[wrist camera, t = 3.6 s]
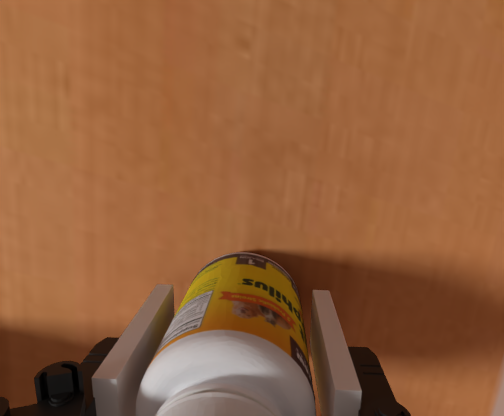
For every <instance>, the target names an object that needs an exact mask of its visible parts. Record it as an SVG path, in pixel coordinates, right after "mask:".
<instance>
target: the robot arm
mask: <svg viewBox="0 0 504 416" xmlns="http://www.w3.org/2000/svg"><path fill="white" fill-rule="evenodd" d="M173 318H174V292H173V285H162V284H157V285H156V287H155V288H154V290H153V291H152V292H151V294H150V295H149V297H148V298H147V300H146V301H145V302H144V304H143V305H142V307H141V308H140V310H139V311H138V312H137V314H136V315H135V317H134V318H133V320H132V321H131V322H130V324H129V325H128V327H127V328H126V329H125V331H124V332H123V334H122V335H121V337H120V338H109V337H107V338H105V339H104V340H102V341H101V342H99V343H98V344H96V345H95V346H94V348H93V349H92V350H91V351H90V353H89V355H87V357H86V358H85V359H84V360H83V362H82V363H81V364H79V363H77V362H73V361H62V362H58V363H54V364H52V365H49V366H47V367H45V368H44V369H42V370H41V371H40V372H38V374H37V375H36V376H35V378H34V381H35V388H36V395H37V404H33V405H29V406H24V407H18V408H13V409H10V408H9V402H8V400H7V399H5V398H4V397H0V416H136V400H137V395H138V391H139V387H140V384H141V382H142V379H143V377H144V375H145V373H146V371H147V368H148V366H149V364H150V363H151V361H152V359H153V357H154V355H155V353H156V351H157V349H158V347H159V345H160V343H161V341H162V339H163V338H164V336H165V334H166V332H167V330H168V328H169V326H170V324H171V322H172V320H173ZM310 347H311V354H312V360H313V366H314V372H315V378H316V385H317V391H318V397H319V403H320V409H321V416H411V415H410V413H409V412H408V411H407V409H406V408H405V407H403V406H402V405H400V404H399V403H397V402H396V399H395V397H394V395H393V392H392V390H391V388H390V386H389V383H388V381H387V379H386V376H385V375H384V372H383V369H382V367H381V365H380V363H379V360H378V358H377V356H376V355H375V354H374V353H373V352H372V351H371V350H370V349H369V348H367V347H347V344H346V341H345V337H344V334H343V331H342V328H341V325H340V322H339V319H338V316H337V313H336V310H335V307H334V303H333V300H332V297H331V294H330V291H329V290H313V291H312V310H311V329H310Z"/></svg>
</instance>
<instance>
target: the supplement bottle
mask: <svg viewBox="0 0 504 416" xmlns="http://www.w3.org/2000/svg"><path fill="white" fill-rule="evenodd" d="M136 416H316V409H315V396H314V391H313V385H312V377H311V372H310V365H309V357H308V350H307V343H306V335H305V328H304V321H303V314H302V308H301V302H300V297H299V293H298V290H297V287H296V285H295V283H294V281H293V280H292V278H291V277H290V275H289V274H288V273H287V272H286V271H285V270H284V269H283V268H282V267H281V266H280V265H279V264H277V263H276V262H274V261H273V260H271V259H269V258H267V257H264V256H261V255H258V254H254V253H247V252H237V253H231V254H226V255H223V256H221V257H218V258H216V259H214V260H213V261H211V262H210V263H208V264H207V265H206V266H204V267H203V268H202V269H201V270H200V272H199V273H198V274H197V275H196V277H195V278H194V280H193V282H192V283H191V285H190V287H189V289H188V291H187V293H186V295H185V297H184V299H183V301H182V303H181V304H180V307H179V308H178V310H177V312H176V314H175V316H174V318H173V320H172V322H171V324H170V326H169V328H168V330H167V332H166V334H165V336H164V338H163V339H162V341H161V343H160V345H159V347H158V349H157V351H156V353H155V355H154V357H153V359H152V361H151V363H150V364H149V366H148V368H147V371H146V373H145V375H144V377H143V379H142V382H141V384H140V387H139V391H138V395H137V400H136Z"/></svg>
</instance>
